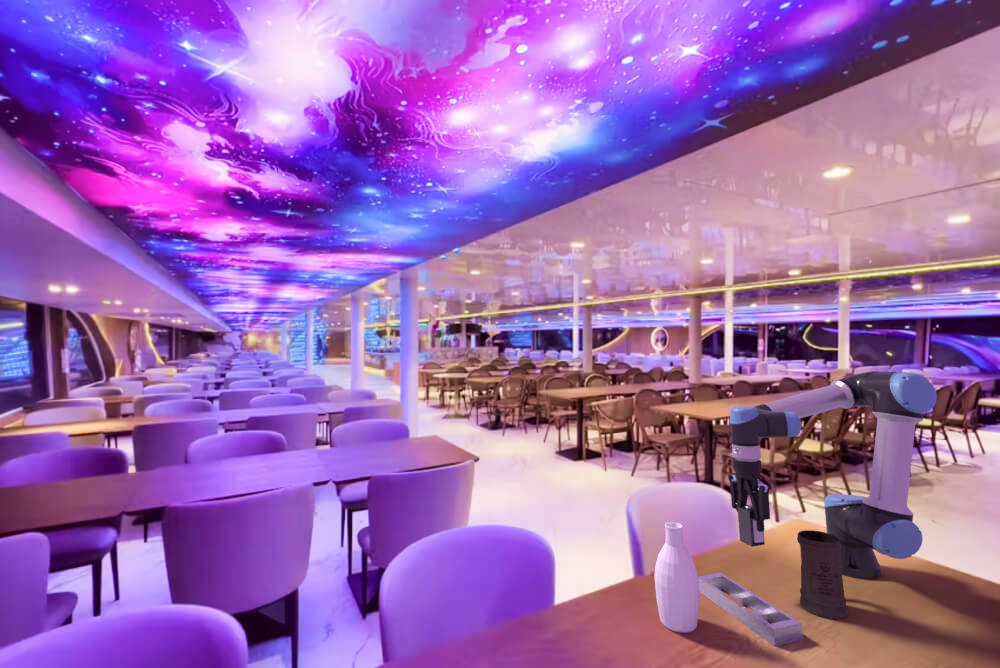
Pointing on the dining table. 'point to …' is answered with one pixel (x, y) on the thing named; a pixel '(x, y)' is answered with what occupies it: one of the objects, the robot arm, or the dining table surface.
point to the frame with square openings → (764, 612)
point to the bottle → (676, 583)
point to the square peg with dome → (747, 525)
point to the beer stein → (821, 575)
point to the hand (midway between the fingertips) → (751, 538)
